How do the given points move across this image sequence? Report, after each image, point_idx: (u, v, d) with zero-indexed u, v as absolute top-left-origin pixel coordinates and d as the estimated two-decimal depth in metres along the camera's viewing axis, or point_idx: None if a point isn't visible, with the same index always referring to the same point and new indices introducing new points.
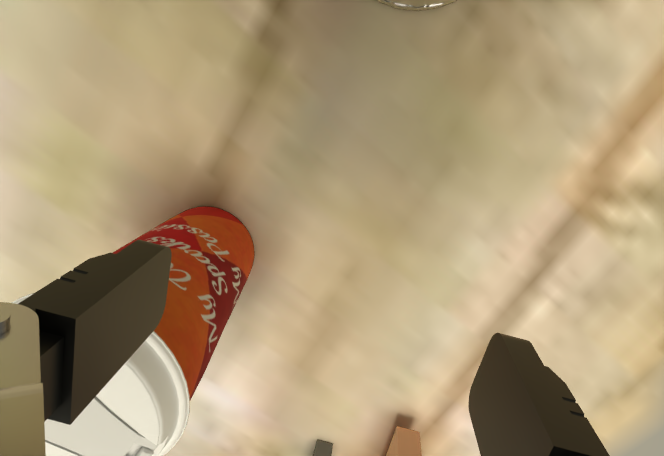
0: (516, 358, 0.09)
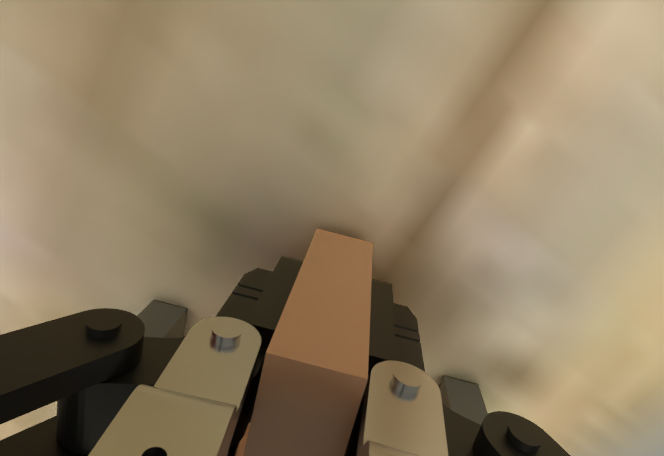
0: None
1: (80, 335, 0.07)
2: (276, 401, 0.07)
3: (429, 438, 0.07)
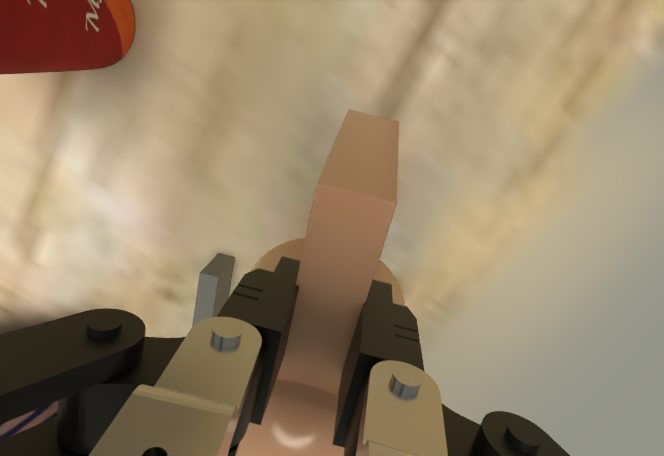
0: (368, 294, 0.11)
1: (80, 335, 0.07)
2: (325, 223, 0.09)
3: (428, 438, 0.07)
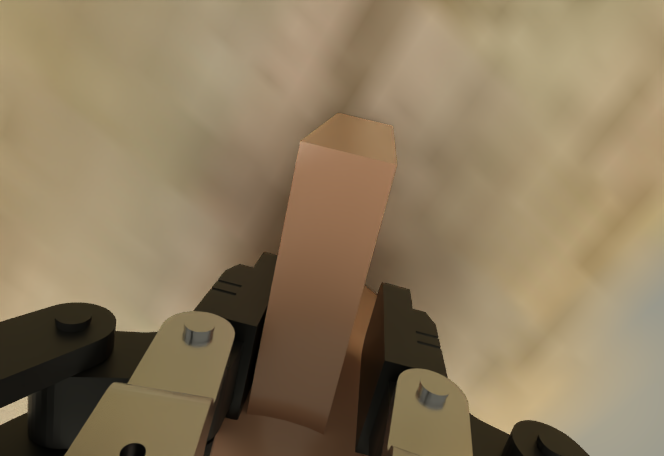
0: (387, 300, 0.11)
1: (49, 330, 0.07)
2: (309, 194, 0.08)
3: (461, 449, 0.06)
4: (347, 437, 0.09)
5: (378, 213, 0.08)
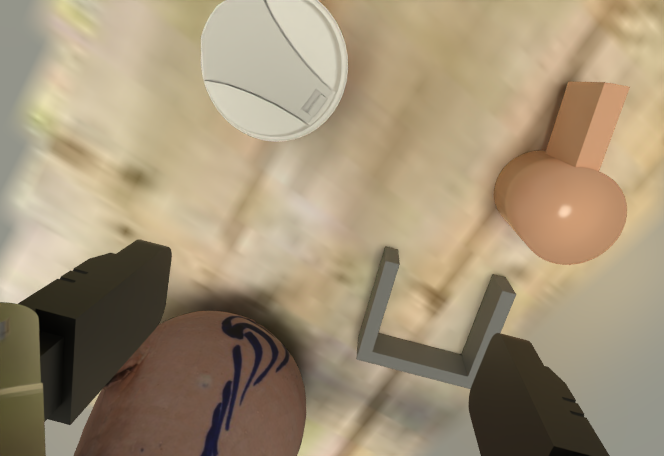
0: (516, 358, 0.09)
1: None
2: (605, 96, 0.30)
3: None
4: None
5: (623, 100, 0.30)
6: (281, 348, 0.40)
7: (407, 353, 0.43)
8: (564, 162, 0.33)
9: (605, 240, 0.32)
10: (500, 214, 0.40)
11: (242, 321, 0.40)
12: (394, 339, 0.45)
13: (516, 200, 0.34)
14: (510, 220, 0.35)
